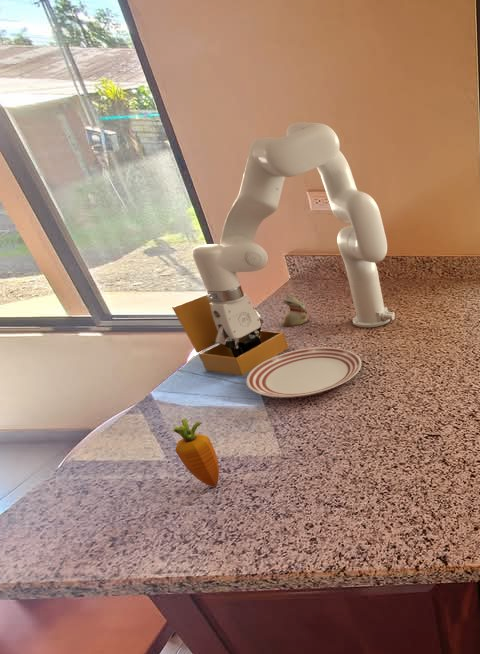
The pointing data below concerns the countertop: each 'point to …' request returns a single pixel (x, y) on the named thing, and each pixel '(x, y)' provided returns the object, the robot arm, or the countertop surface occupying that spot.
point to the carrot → (197, 454)
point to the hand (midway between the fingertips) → (249, 354)
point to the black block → (248, 342)
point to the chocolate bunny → (294, 312)
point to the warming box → (225, 362)
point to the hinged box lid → (198, 322)
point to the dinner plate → (303, 372)
